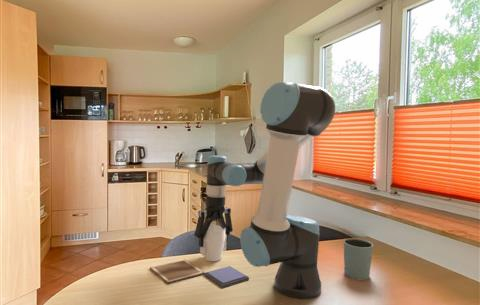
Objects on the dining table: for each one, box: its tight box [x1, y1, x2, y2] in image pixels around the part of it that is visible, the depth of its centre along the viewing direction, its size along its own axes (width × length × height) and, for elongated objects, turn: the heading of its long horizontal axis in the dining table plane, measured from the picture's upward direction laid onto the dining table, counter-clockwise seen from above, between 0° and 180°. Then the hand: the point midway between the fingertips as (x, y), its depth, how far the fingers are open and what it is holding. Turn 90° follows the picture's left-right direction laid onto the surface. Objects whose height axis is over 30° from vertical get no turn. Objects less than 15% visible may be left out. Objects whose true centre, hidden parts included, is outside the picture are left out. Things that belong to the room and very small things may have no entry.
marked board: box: [149, 258, 205, 285], centre depth 116 cm, size 14×14×1 cm
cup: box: [203, 224, 226, 262], centre depth 130 cm, size 9×9×12 cm
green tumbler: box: [343, 238, 374, 281], centre depth 121 cm, size 10×10×12 cm
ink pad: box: [203, 265, 250, 289], centre depth 114 cm, size 11×11×1 cm
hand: (213, 252), depth 130 cm, fingers closed on cup, 9 cm apart
